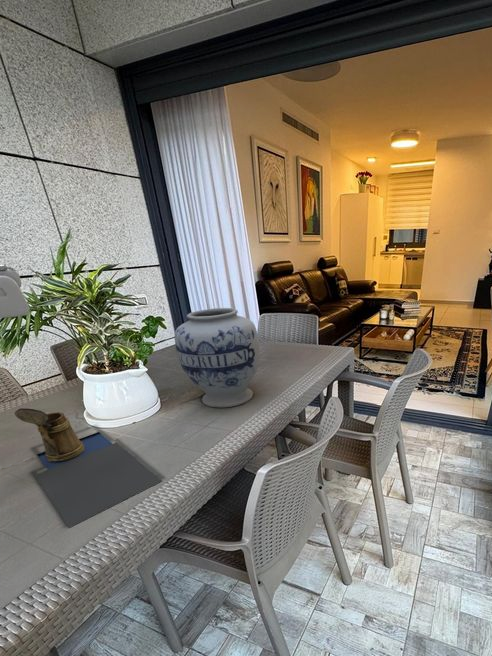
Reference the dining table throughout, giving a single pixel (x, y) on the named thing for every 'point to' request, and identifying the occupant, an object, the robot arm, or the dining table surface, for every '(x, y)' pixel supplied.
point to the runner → (95, 482)
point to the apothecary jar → (219, 355)
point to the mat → (90, 445)
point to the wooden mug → (54, 434)
